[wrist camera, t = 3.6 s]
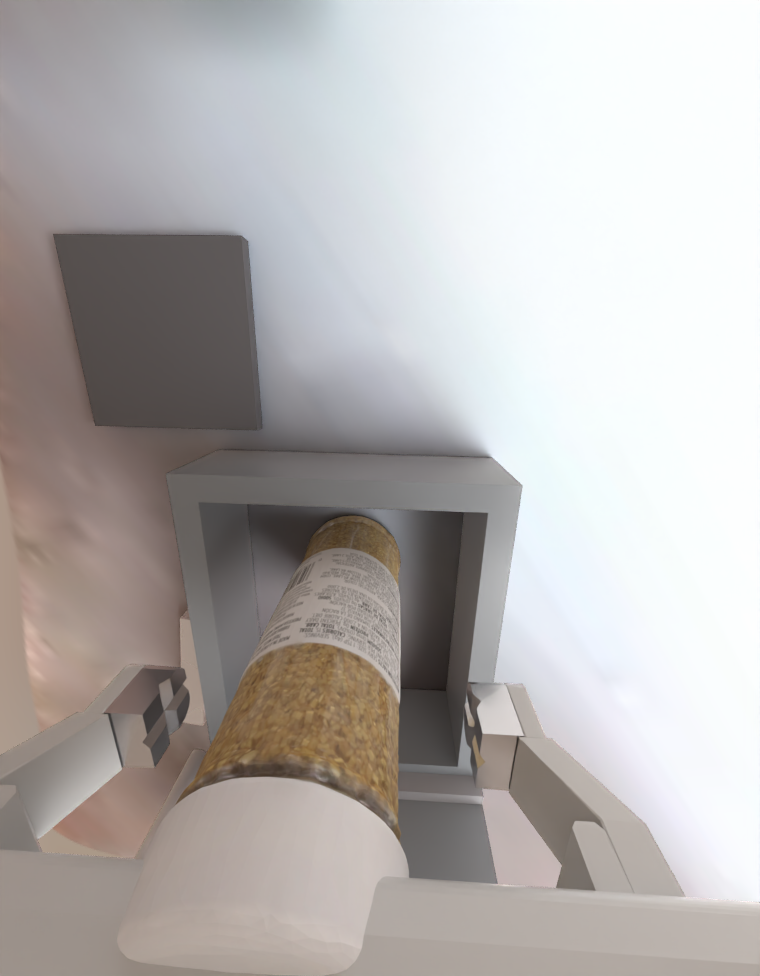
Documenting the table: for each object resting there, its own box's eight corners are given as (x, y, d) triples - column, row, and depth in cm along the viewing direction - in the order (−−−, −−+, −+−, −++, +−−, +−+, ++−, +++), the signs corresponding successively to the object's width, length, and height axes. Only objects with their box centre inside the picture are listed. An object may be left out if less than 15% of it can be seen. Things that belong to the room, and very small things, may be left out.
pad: (67, 239, 14) (53, 234, 13) (248, 241, 14) (241, 235, 13) (105, 423, 16) (95, 425, 16) (262, 428, 16) (257, 430, 15)
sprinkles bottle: (349, 611, 19) (245, 1141, 6) (287, 548, 18) (-1, 1015, 5) (421, 562, 18) (484, 1076, 5) (359, 491, 17) (232, 900, 4)
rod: (192, 603, 19) (179, 618, 18) (215, 607, 19) (203, 622, 18) (193, 703, 22) (181, 722, 20) (213, 706, 22) (203, 725, 20)
